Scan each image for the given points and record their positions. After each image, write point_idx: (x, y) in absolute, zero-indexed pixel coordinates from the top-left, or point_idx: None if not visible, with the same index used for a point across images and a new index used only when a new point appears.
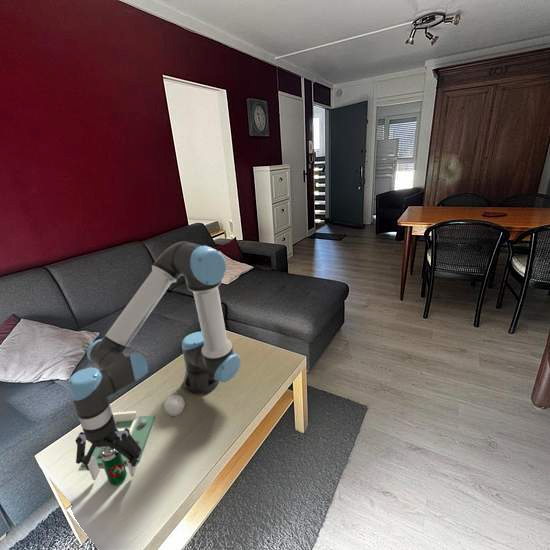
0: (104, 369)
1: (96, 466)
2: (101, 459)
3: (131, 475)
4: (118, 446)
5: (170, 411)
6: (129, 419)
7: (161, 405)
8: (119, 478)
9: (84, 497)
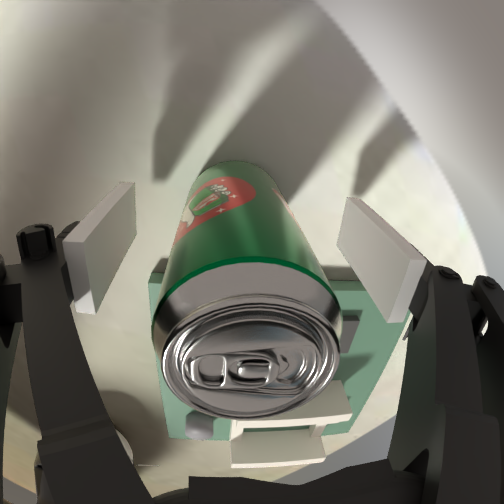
0: None
1: (359, 262)
2: (325, 287)
3: (127, 185)
4: (41, 431)
5: None
6: (260, 436)
7: (144, 465)
8: (203, 179)
9: (377, 134)
